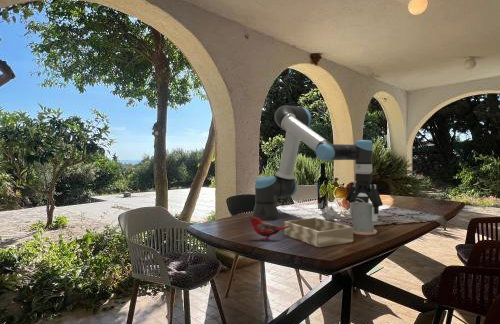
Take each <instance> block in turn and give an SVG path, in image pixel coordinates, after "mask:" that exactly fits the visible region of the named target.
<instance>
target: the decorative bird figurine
mask: <svg viewBox="0 0 500 324" xmlns="http://www.w3.org/2000/svg"><path fill="white" fill-rule="evenodd" d="M249 222H250V223H251V226H252V227H253V228H252V229H253V230H254V232H255V233H256V234H257V235H259V236H262V237H263V238H260V240H262V241H265V240H266V241H269V240H270V237H271V236H274V235H276V234H278V233H279V232H281V231H282V230H284V229H285V228H288V227H290V226H286V227H284V226H280V227H279V226H277V225H275V224H272V223H268V222H266V221H264V220H260V219H259V218H257V217H251V219H250V220H249V221H248V223H249Z"/></svg>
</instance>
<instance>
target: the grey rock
mask: <svg viewBox="0 0 500 324" xmlns="http://www.w3.org/2000/svg"><path fill="white" fill-rule="evenodd" d="M338 213H339V212H338V211H336V210H335V209H334V208H333V205H331V206H323V209H322V212H321V214H319V216H321V217H323V218H324V220H327V221H334V222H335V218H336V216H337V214H338Z"/></svg>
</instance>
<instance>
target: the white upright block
mask: <svg viewBox="0 0 500 324" xmlns="http://www.w3.org/2000/svg"><path fill="white" fill-rule="evenodd" d="M372 207H373V204H372V202H371V203H370V202H368V203H365V202H356V203H353V216H352V227H353V230H354V231H358V232H373V231H374V229H375V226H374V225H375V223H374V222H375V221H372Z"/></svg>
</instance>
